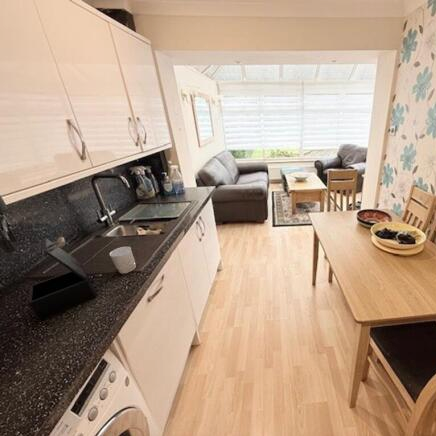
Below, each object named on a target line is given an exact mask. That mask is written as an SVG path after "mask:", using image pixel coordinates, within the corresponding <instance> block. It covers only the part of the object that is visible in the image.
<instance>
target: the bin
mask: <svg viewBox="0 0 436 436" xmlns="http://www.w3.org/2000/svg"><path fill="white" fill-rule="evenodd" d="M85 273H86V276H87V279H86V280H84V279H82V278H81V277H79V276H78V275H76V274H75V273H73V272H72V271H70V270H69V271H67V272H64V273H62V274H59V275H56V276H53V277H50V278H48V279H45V280H42V281H40V282H36V283H34V284H31V285H30V286H29V292H28V305H29V307H30V308H31V309H32V311H33V312H34V314H35V315H36V316H37V318H38V319H39V321H40V322H43V321H45V320H47V319H49V318H51V317H55V316H57V315H59V314H61V313H63V312H65V311H68V310H70V309H73V308H75V307H77V306H79V305H82V304H84V303H86V302H89V301H91V300H93V299H96V294H95V291H94V287H93V284H92V281H91V279H90V277H89V276H88V273H87V272H86V271H85Z"/></svg>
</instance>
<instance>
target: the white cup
mask: <svg viewBox="0 0 436 436" xmlns="http://www.w3.org/2000/svg"><path fill="white" fill-rule="evenodd" d="M109 257H110V259H111V261H112V262H113V264H114V266H115V268H116V270H117V271H118V273H119V274H128V273H130V272H132V271H134V270H135V269H136V268H137V263H136V260H135V257H134V254H133V251H132V248H131V246H120V247H117V248H115V249H113V250H112V251H110V252H109Z"/></svg>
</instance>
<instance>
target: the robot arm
mask: <svg viewBox="0 0 436 436" xmlns="http://www.w3.org/2000/svg"><path fill="white" fill-rule="evenodd" d="M8 210H9V207H8V205H7V203H6V202H5V200H4V198H3V197H2V195H0V236H1V237H0V248H1V250H2V251H3V253H4V254H9V253H12V252H13V253H14V252H16V247H15V246H14V243H15V242H18V237H17V236H16V235H15V233H14V232H13V227H12V226H13V225H12V224H11V223H10V221H9V220H8V218H7V216H6V215H5V212H7V211H8Z"/></svg>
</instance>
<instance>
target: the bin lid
mask: <svg viewBox="0 0 436 436" xmlns="http://www.w3.org/2000/svg"><path fill="white" fill-rule="evenodd" d="M64 246H66V239H65V237H63V236H59V237H57V240H56V241H54V242H53V241H51V240H50V239H49V238H47V237H45V238H44V239H43V254H45V255H47V256H48V257H49V258H51V259H52V260H54V261H55V262H57V263H58V264H59V265H61V266H63V267H65V268H66V269H67V270H68V271H69V272H70V271H72V272H73V273H75V274H76V275H78V276H79V277H81V278H82V279H84V280H86V279H87V276H86V273H87V272H86V270H85V265H84V264H83V263H81V262H80V261H78V259H76V258H75V257H73V256H72V255H70V254H69V253H68V252H66V251H65V250H64V249H62V248H61V247H64ZM85 272H86V273H85Z"/></svg>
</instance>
